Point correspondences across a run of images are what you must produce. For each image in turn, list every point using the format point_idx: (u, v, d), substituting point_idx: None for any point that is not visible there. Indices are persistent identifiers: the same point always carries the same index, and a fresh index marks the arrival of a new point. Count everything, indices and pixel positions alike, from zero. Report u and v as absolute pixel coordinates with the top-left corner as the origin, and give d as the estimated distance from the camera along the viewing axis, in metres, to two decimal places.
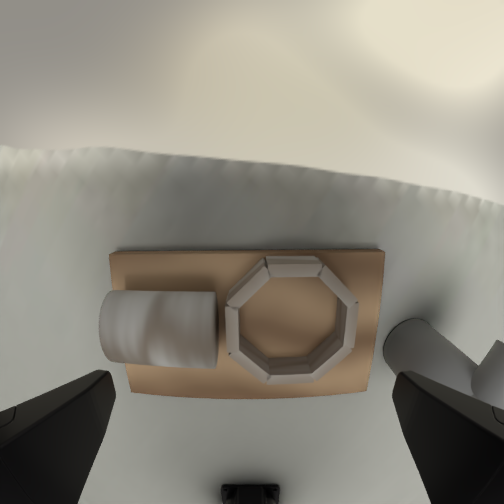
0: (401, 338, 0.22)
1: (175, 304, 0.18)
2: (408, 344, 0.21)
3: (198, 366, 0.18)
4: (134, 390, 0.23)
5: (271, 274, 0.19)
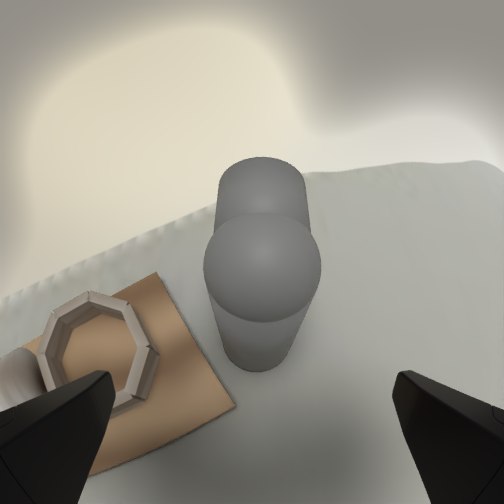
0: None
1: (1, 358, 0.16)
2: None
3: (18, 399, 0.14)
4: None
5: (57, 316, 0.19)
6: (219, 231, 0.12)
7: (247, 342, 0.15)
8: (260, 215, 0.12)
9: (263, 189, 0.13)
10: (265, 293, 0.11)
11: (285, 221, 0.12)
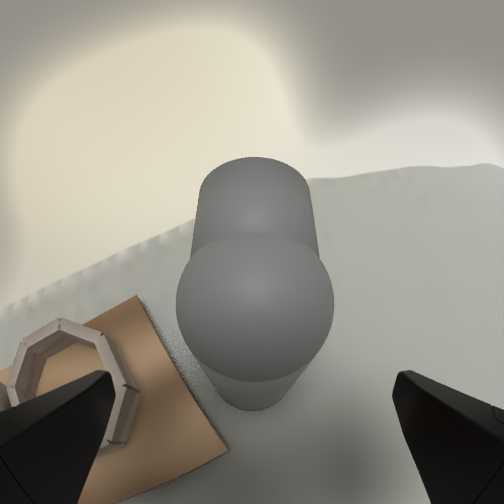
0: None
1: None
2: None
3: None
4: None
5: (27, 345, 0.16)
6: (194, 260, 0.09)
7: (238, 393, 0.11)
8: (250, 237, 0.09)
9: (255, 199, 0.10)
10: (258, 350, 0.08)
11: (286, 244, 0.09)
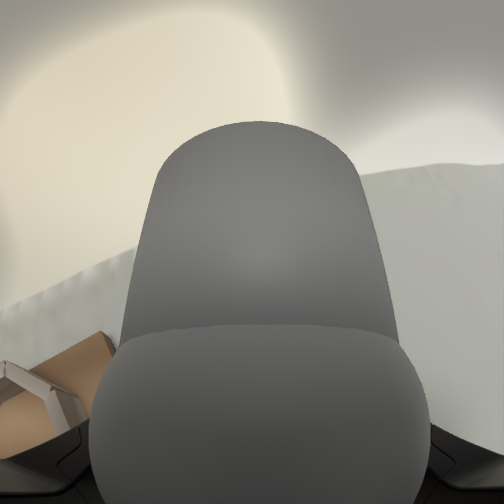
0: None
1: None
2: None
3: None
4: None
5: None
6: (107, 379, 0.03)
7: None
8: (248, 344, 0.03)
9: (262, 218, 0.04)
10: None
11: (355, 363, 0.03)
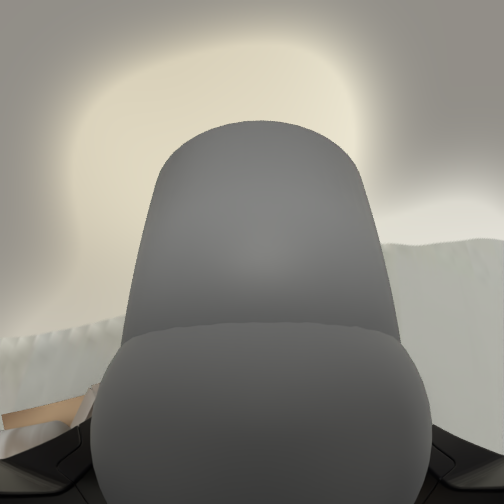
0: None
1: (28, 427, 0.14)
2: None
3: None
4: None
5: (96, 393, 0.17)
6: (109, 378, 0.03)
7: None
8: (252, 343, 0.03)
9: (264, 217, 0.04)
10: None
11: (357, 360, 0.03)
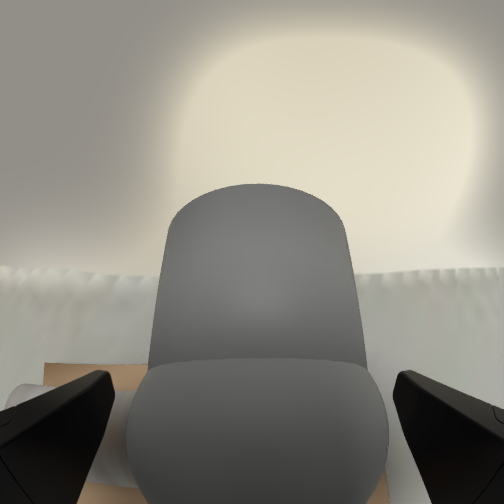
0: None
1: None
2: None
3: (116, 474, 0.10)
4: None
5: None
6: (145, 395, 0.04)
7: None
8: (249, 373, 0.04)
9: (258, 277, 0.05)
10: None
11: (322, 385, 0.04)
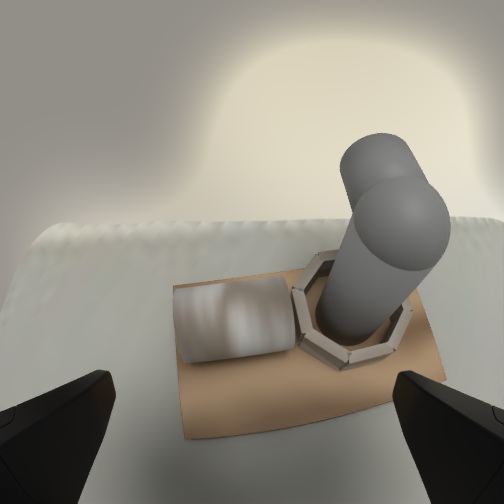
0: (319, 304, 0.22)
1: (249, 279, 0.21)
2: (322, 295, 0.21)
3: (279, 327, 0.18)
4: (189, 435, 0.18)
5: (323, 259, 0.23)
6: (375, 191, 0.13)
7: (381, 302, 0.15)
8: (408, 178, 0.12)
9: (399, 158, 0.13)
10: (428, 240, 0.12)
11: (427, 183, 0.12)
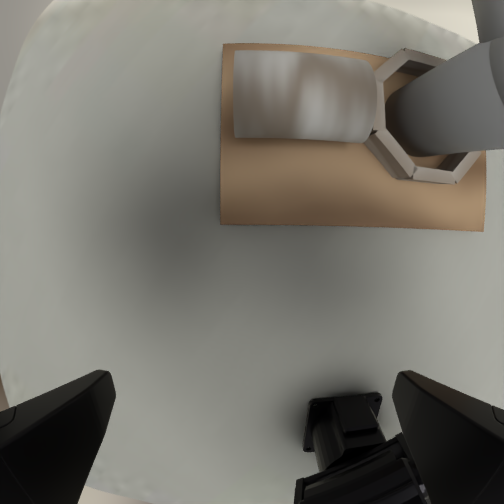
0: (394, 102, 0.16)
1: (327, 55, 0.14)
2: (403, 96, 0.15)
3: (357, 120, 0.14)
4: (226, 220, 0.19)
5: (408, 57, 0.15)
6: None
7: (477, 142, 0.11)
8: None
9: None
10: None
11: None
